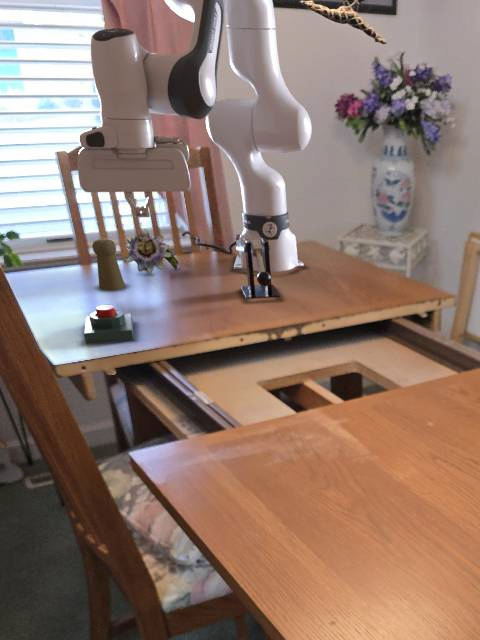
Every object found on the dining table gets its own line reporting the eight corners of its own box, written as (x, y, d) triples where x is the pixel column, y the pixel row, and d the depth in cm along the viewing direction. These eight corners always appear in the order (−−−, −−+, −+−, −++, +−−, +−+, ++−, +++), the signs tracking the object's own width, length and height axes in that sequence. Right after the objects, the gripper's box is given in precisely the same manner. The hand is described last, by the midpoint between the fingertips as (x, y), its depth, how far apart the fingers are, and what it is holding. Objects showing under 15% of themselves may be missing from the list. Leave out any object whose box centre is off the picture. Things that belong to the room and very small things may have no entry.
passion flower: (153, 295, 186) (119, 260, 177) (149, 276, 193) (115, 241, 184) (187, 269, 184) (153, 232, 175) (181, 251, 191) (148, 215, 182)
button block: (88, 326, 149) (84, 307, 147) (133, 323, 152) (129, 304, 149) (86, 344, 141) (81, 324, 138) (133, 341, 143) (130, 321, 141)
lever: (272, 289, 161) (272, 278, 159) (258, 289, 161) (258, 278, 158) (262, 249, 167) (262, 238, 164) (248, 249, 166) (248, 238, 163)
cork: (129, 284, 175) (120, 237, 168) (119, 291, 170) (109, 243, 163) (105, 283, 175) (96, 236, 169) (94, 290, 170) (84, 241, 164)
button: (97, 313, 145) (95, 305, 144) (116, 312, 146) (114, 304, 145) (97, 319, 142) (95, 310, 141) (116, 318, 143) (114, 309, 142)
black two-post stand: (280, 300, 168) (276, 244, 161) (246, 302, 166) (241, 245, 159) (273, 289, 176) (270, 234, 168) (241, 291, 173) (236, 236, 166)
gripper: (185, 135, 136) (194, 213, 144) (71, 133, 130) (87, 214, 138) (188, 138, 131) (197, 218, 139) (69, 136, 125) (86, 220, 133)
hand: (141, 216), depth 138 cm, fingers closed
